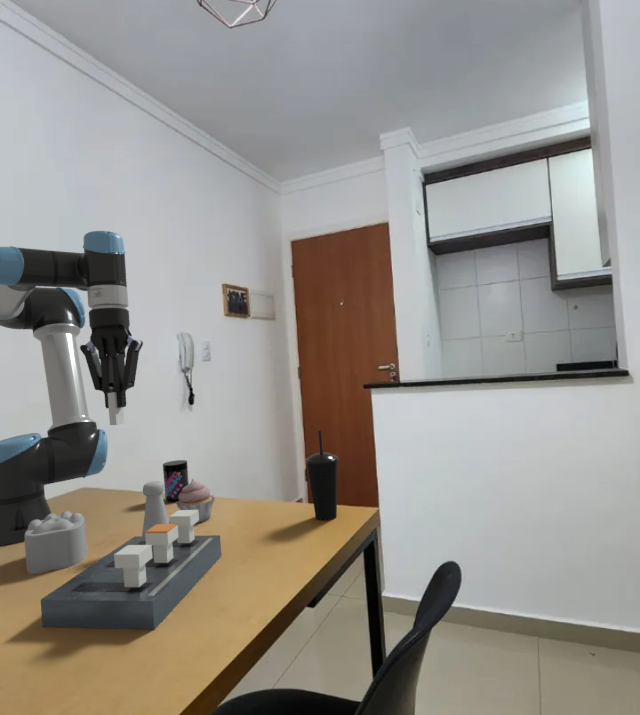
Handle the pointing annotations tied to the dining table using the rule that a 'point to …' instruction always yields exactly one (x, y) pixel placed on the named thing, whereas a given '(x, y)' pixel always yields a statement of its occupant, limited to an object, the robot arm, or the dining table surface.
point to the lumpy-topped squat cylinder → (55, 542)
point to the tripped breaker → (162, 541)
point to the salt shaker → (154, 506)
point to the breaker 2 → (185, 524)
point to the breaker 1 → (133, 563)
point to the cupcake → (196, 499)
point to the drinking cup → (323, 483)
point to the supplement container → (175, 479)
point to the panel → (130, 589)
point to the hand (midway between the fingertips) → (117, 424)
